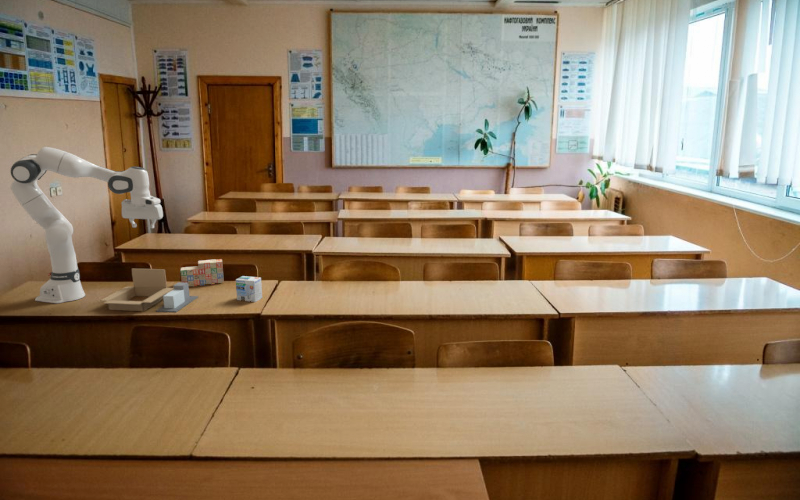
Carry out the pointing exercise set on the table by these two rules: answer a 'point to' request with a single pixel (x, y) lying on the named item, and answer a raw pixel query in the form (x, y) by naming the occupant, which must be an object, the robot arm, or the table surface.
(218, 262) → the stack of blocks
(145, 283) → the carton
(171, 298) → the box
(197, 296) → the mat
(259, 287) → the light bulb box
